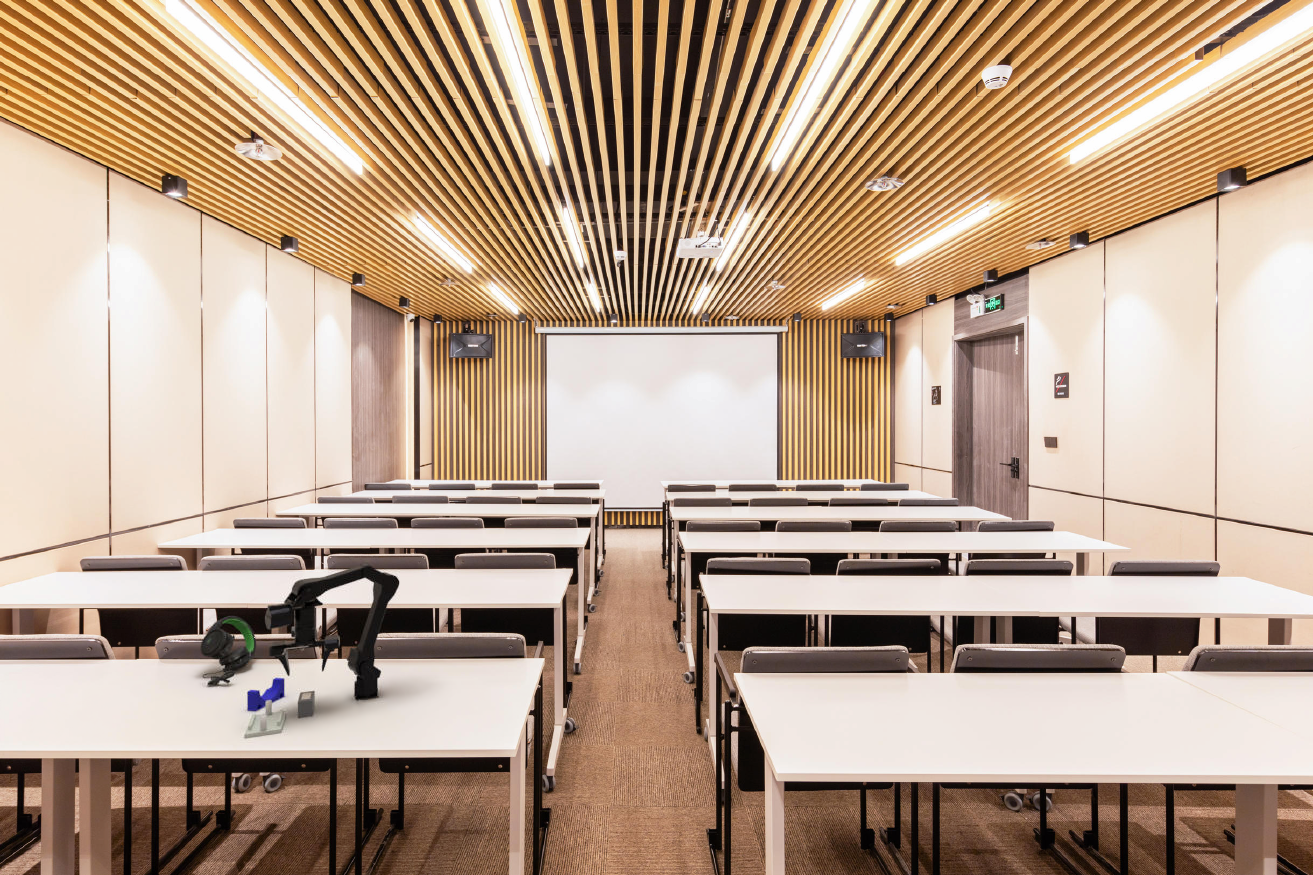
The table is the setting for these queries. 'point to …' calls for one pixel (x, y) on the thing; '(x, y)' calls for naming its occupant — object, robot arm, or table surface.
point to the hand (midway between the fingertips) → (305, 673)
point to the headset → (228, 648)
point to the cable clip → (265, 695)
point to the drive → (306, 704)
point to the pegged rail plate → (266, 722)
